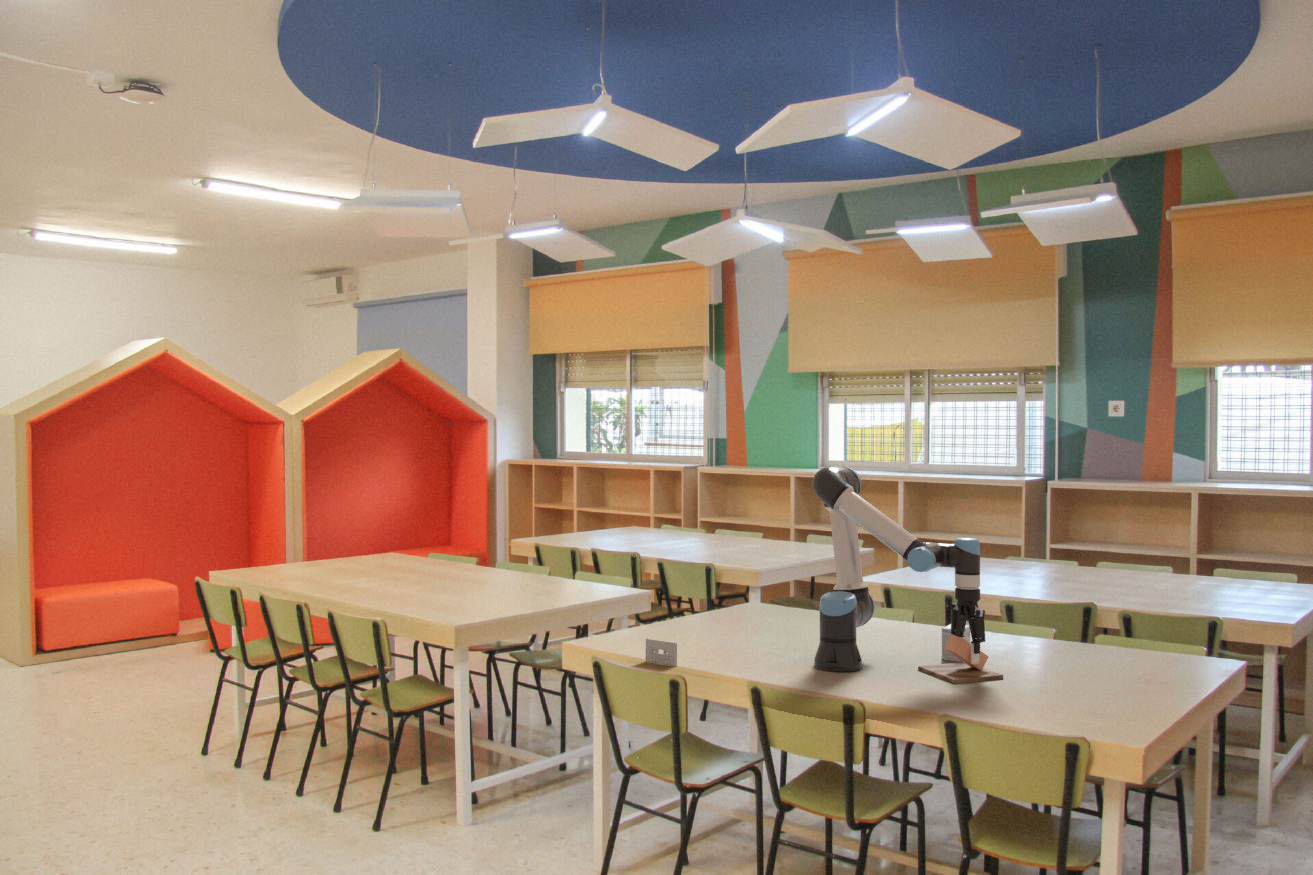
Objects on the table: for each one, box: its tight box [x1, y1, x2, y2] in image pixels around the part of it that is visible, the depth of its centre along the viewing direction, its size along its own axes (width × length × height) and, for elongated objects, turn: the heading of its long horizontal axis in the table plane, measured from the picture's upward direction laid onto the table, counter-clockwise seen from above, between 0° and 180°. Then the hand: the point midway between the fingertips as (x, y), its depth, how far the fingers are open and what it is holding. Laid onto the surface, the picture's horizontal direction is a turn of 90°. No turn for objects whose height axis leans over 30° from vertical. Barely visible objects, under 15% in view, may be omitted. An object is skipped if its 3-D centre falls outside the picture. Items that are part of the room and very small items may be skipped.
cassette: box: [645, 638, 678, 668], centre depth 299 cm, size 12×2×8 cm, turn 55°
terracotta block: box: [944, 635, 989, 671], centre depth 286 cm, size 5×5×12 cm
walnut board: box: [917, 661, 1004, 685], centre depth 286 cm, size 18×18×1 cm
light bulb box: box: [941, 623, 971, 663], centre depth 308 cm, size 11×7×11 cm, turn 144°
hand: (967, 660), depth 287 cm, fingers open, 6 cm apart
